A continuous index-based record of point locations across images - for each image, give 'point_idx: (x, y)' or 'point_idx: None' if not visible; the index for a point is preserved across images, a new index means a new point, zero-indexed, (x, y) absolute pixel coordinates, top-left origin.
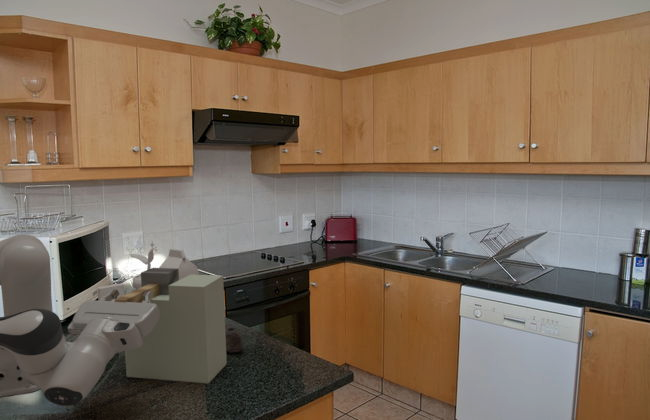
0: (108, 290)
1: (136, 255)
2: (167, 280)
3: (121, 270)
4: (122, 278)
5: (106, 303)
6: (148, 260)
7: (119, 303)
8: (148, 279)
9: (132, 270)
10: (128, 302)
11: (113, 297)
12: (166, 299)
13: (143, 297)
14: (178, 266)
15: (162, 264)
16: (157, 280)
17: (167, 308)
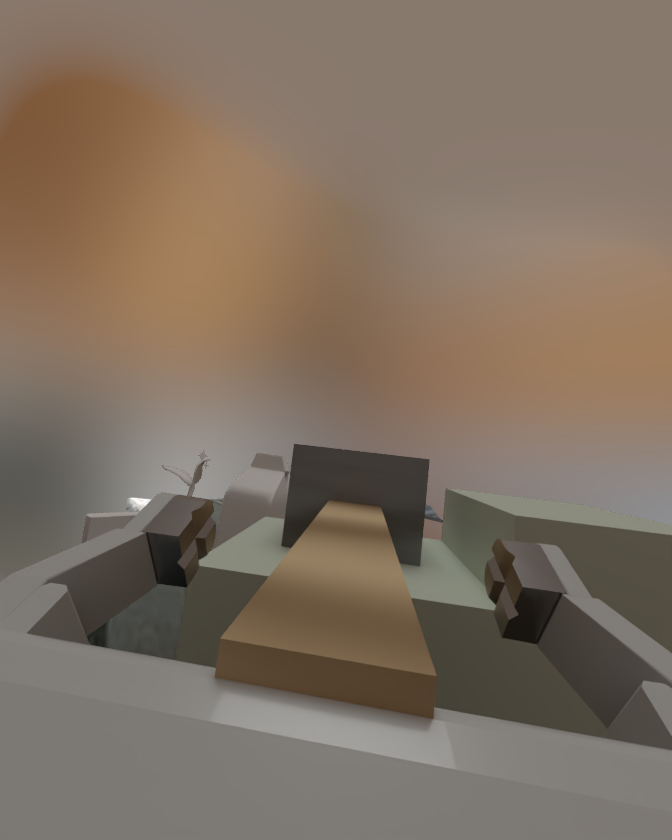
0: (109, 523)
1: (173, 468)
2: (425, 493)
3: (133, 499)
4: (134, 509)
5: (48, 719)
6: (193, 479)
7: (329, 752)
8: (327, 479)
9: (149, 501)
10: (501, 735)
11: (164, 569)
12: (473, 600)
13: (517, 608)
14: (276, 486)
15: (237, 480)
16: (373, 488)
17: (489, 665)
